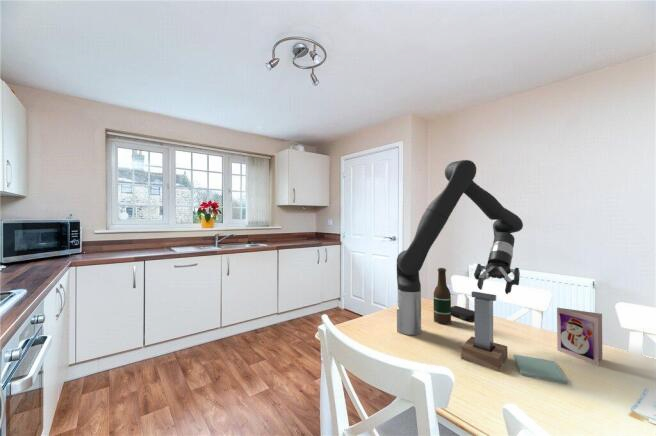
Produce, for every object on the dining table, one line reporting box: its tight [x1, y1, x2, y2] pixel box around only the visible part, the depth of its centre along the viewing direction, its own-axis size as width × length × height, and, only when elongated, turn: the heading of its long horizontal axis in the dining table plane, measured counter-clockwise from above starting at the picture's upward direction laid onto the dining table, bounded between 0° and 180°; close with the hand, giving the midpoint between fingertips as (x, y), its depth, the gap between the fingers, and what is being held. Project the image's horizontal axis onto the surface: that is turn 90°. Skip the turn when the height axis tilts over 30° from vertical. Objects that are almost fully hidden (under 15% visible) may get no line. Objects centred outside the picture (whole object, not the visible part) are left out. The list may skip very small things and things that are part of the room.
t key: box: [471, 290, 497, 352], centre depth 91 cm, size 4×7×22 cm, turn 45°
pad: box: [512, 353, 569, 385], centre depth 85 cm, size 11×12×1 cm
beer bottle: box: [433, 267, 452, 325], centre depth 124 cm, size 8×8×24 cm
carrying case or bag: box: [451, 305, 475, 322], centre depth 131 cm, size 11×3×15 cm
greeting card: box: [556, 307, 603, 367], centre depth 92 cm, size 11×7×15 cm, turn 20°
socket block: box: [460, 336, 509, 372], centre depth 91 cm, size 11×11×4 cm
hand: (492, 290), depth 99 cm, fingers open, 8 cm apart
